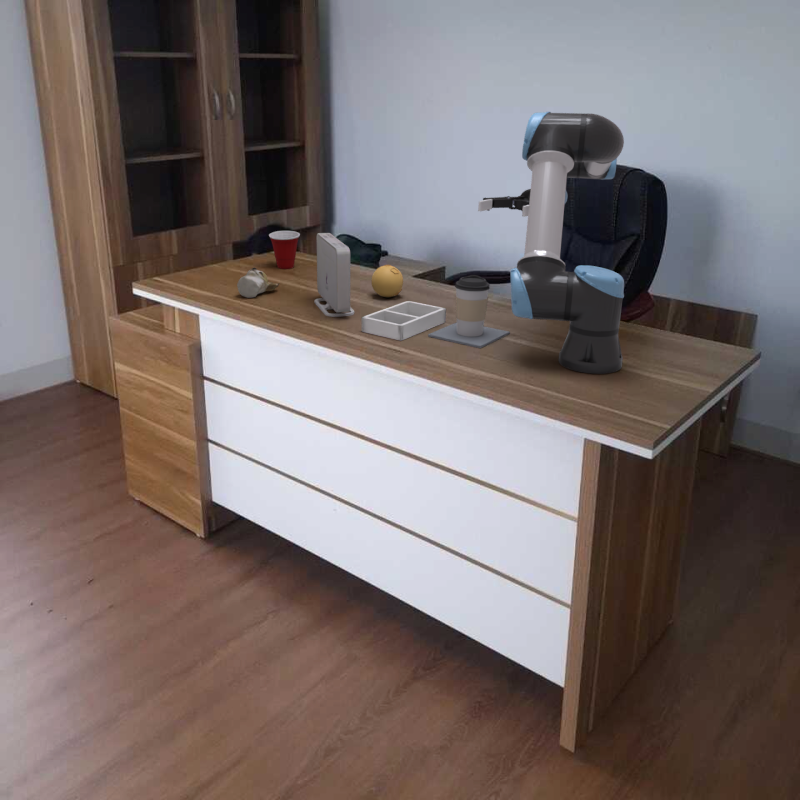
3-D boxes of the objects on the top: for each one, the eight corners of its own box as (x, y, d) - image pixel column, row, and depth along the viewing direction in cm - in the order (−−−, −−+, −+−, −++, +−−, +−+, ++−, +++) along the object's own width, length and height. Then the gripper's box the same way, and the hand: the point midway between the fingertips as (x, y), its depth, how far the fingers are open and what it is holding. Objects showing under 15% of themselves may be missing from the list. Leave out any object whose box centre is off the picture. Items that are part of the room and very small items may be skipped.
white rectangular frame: (445, 322, 231) (446, 308, 230) (401, 340, 214) (401, 326, 213) (407, 314, 238) (407, 300, 236) (361, 331, 221) (361, 317, 220)
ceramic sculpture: (227, 269, 248) (250, 262, 261) (228, 297, 250) (250, 289, 264) (259, 272, 245) (281, 265, 258) (259, 301, 247) (281, 292, 261)
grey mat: (509, 333, 222) (509, 331, 222) (480, 348, 210) (480, 346, 210) (458, 323, 230) (459, 321, 230) (427, 336, 218) (428, 334, 218)
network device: (310, 297, 253) (309, 232, 245) (337, 296, 255) (337, 231, 248) (329, 320, 230) (328, 249, 223) (359, 318, 233) (359, 248, 225)
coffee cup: (484, 339, 215) (488, 282, 210) (450, 336, 217) (453, 280, 211) (488, 329, 223) (492, 275, 218) (455, 326, 225) (458, 272, 219)
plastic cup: (265, 269, 287) (264, 235, 282) (275, 263, 297) (274, 230, 292) (295, 271, 285) (295, 237, 281) (304, 265, 295) (303, 231, 291)
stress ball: (392, 302, 250) (393, 270, 246) (365, 297, 254) (365, 265, 250) (408, 295, 258) (409, 264, 254) (381, 291, 262) (382, 260, 258)
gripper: (573, 218, 236) (541, 227, 219) (497, 209, 249) (461, 217, 232) (576, 192, 233) (544, 199, 217) (498, 184, 246) (462, 190, 230)
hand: (501, 208), depth 224 cm, fingers open, 13 cm apart
